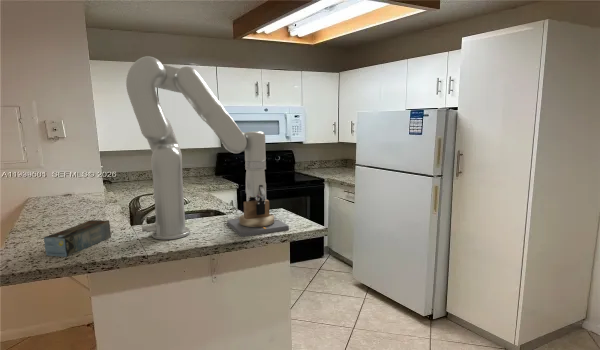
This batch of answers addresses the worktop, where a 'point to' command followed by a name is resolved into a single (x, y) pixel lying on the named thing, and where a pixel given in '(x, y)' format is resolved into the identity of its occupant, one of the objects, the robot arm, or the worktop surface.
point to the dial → (255, 215)
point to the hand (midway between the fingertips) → (256, 211)
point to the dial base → (249, 231)
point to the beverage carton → (77, 238)
